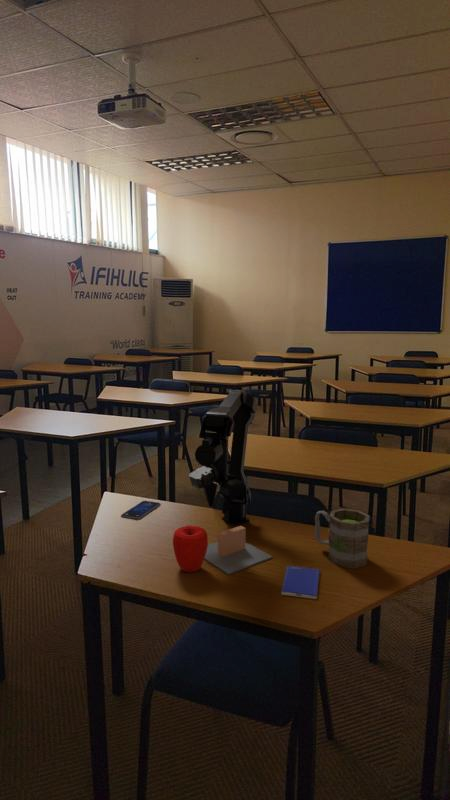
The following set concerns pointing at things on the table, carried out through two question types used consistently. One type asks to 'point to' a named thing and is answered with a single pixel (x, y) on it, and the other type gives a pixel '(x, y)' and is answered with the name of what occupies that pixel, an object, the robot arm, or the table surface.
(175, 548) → the apple
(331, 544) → the mug
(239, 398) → the robot arm
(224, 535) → the tile
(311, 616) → the table surface
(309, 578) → the hard drive
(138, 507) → the smartphone
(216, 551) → the mat
